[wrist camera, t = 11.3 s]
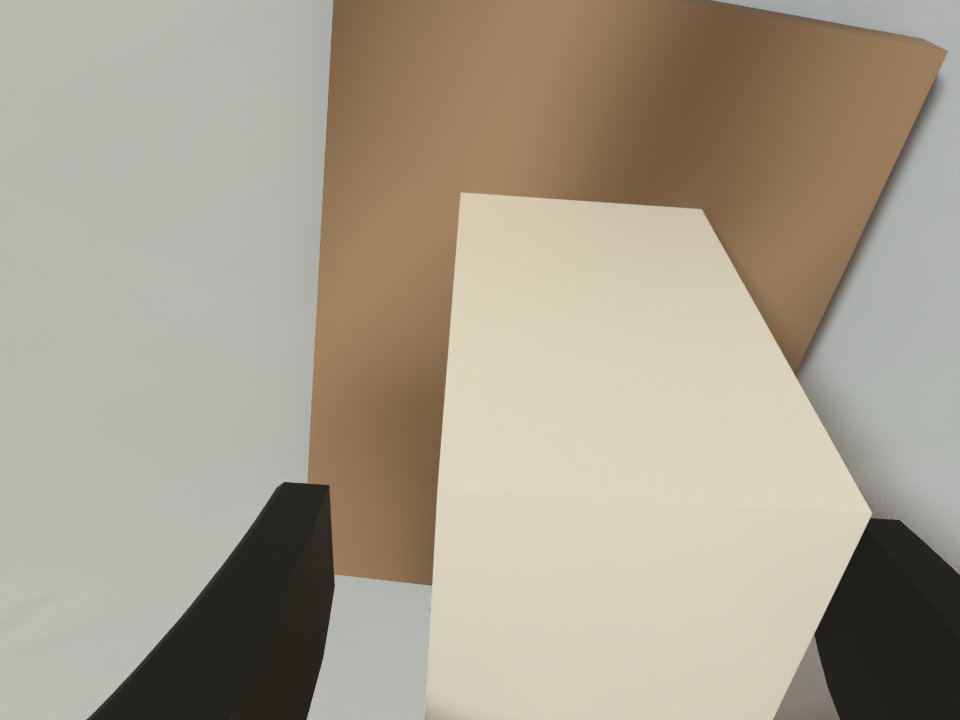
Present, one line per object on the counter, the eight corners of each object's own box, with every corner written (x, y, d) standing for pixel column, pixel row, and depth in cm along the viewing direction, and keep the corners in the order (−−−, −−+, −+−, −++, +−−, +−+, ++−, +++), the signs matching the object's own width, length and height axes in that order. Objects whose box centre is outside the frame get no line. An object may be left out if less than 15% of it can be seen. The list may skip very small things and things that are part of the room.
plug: (701, 209, 13) (872, 513, 7) (636, 478, 16) (717, 834, 11) (460, 192, 13) (436, 488, 7) (444, 467, 16) (419, 821, 10)
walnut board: (923, 39, 12) (948, 50, 12) (675, 587, 19) (681, 614, 19) (345, -67, 12) (336, -60, 11) (309, 544, 19) (302, 570, 18)
